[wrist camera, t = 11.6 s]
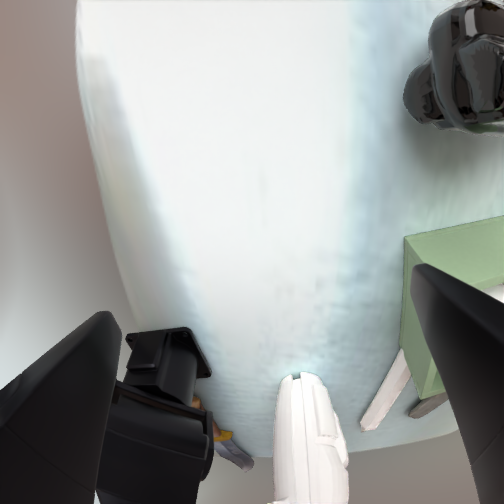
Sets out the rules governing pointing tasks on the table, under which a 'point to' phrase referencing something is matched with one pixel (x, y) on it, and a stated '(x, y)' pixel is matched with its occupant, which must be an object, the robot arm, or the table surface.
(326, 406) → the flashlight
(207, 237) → the table surface
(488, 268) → the bin
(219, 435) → the knife
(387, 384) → the marker
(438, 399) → the stone
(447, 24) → the cat figurine
